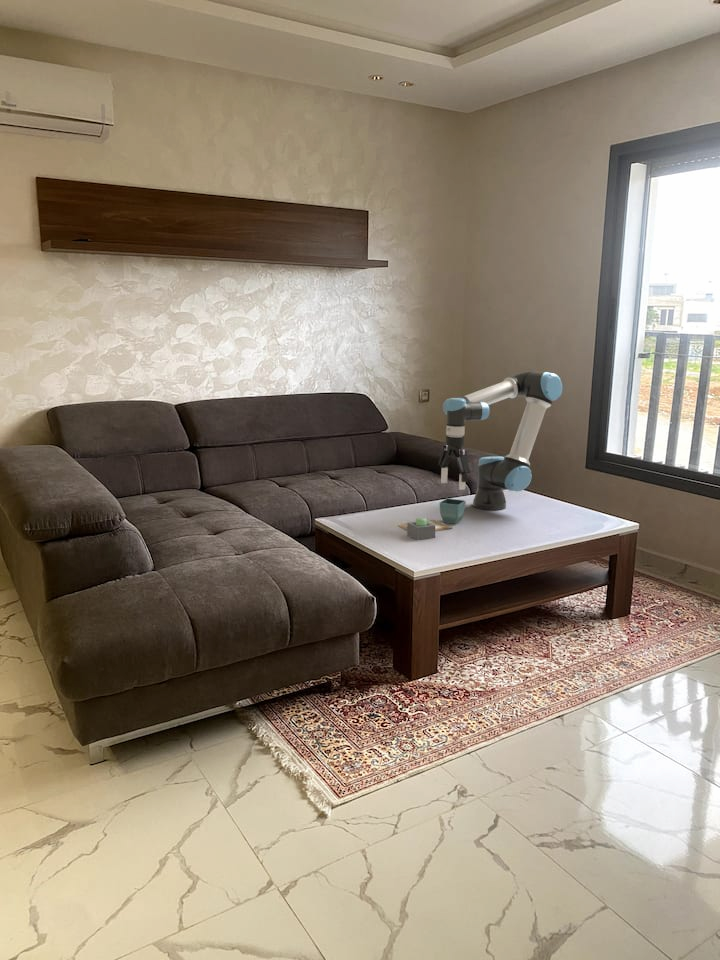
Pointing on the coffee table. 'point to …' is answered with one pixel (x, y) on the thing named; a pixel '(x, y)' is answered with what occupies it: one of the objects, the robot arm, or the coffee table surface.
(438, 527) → the board
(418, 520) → the button
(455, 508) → the flower pot
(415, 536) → the button box
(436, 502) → the coffee table surface
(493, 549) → the coffee table surface
